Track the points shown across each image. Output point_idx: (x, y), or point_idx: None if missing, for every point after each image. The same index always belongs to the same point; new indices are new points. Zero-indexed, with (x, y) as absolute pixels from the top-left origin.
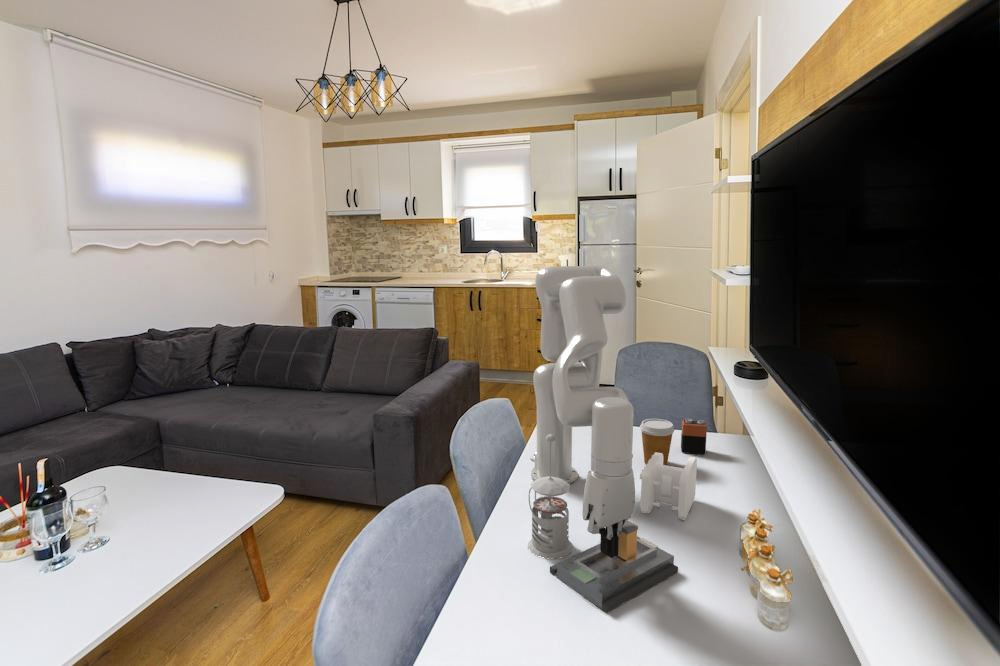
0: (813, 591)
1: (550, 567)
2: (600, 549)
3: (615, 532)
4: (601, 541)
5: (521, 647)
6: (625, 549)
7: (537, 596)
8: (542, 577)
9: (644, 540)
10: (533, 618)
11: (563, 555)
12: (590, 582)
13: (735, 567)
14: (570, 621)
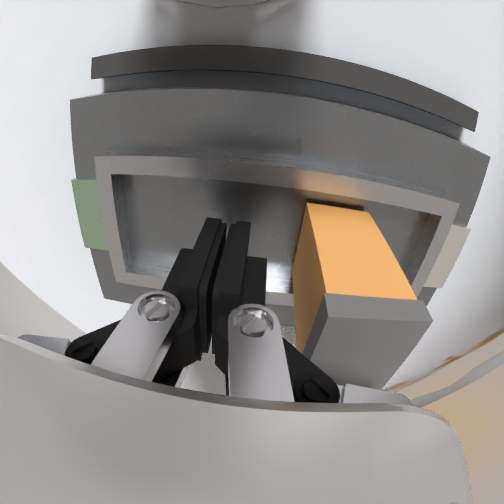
0: (422, 405)
1: (92, 61)
2: (206, 219)
3: (224, 371)
4: (169, 278)
5: None
6: (296, 297)
7: (29, 138)
8: (74, 70)
9: (456, 243)
10: (6, 194)
11: (213, 3)
12: (101, 251)
13: (450, 352)
14: (53, 246)
